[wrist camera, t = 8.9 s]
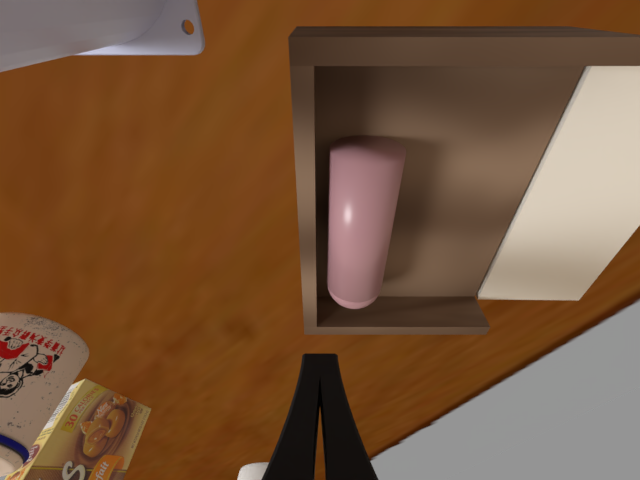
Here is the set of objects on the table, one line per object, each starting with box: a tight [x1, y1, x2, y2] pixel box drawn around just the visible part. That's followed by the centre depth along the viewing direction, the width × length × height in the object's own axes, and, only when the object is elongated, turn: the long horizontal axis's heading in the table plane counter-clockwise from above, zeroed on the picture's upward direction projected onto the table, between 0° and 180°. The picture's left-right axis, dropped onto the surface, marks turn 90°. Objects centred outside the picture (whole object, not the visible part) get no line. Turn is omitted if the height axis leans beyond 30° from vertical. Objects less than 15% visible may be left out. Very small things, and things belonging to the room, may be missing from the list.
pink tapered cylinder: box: [327, 135, 406, 309], centre depth 16 cm, size 10×3×3 cm, turn 0°
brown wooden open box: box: [288, 26, 640, 335], centre depth 16 cm, size 16×12×4 cm
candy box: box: [4, 379, 151, 480], centre depth 29 cm, size 9×4×15 cm, turn 31°
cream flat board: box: [476, 66, 640, 300], centre depth 17 cm, size 15×1×7 cm
